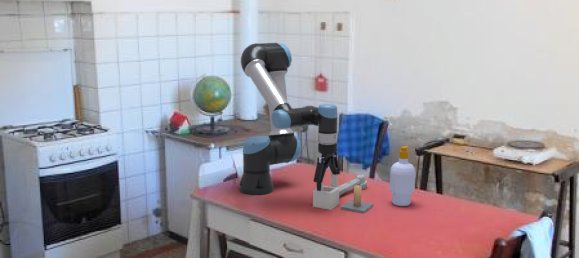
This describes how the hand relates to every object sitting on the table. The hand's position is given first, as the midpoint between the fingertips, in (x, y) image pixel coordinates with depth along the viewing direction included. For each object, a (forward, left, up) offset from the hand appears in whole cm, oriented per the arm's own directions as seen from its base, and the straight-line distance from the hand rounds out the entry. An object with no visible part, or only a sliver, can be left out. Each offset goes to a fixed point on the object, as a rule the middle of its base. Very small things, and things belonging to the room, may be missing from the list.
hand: (327, 193), depth 242 cm
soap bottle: (+26, +18, -5) cm, 32 cm away
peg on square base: (+12, +4, -5) cm, 13 cm away
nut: (0, 0, -5) cm, 5 cm away
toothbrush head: (0, +21, -6) cm, 22 cm away
